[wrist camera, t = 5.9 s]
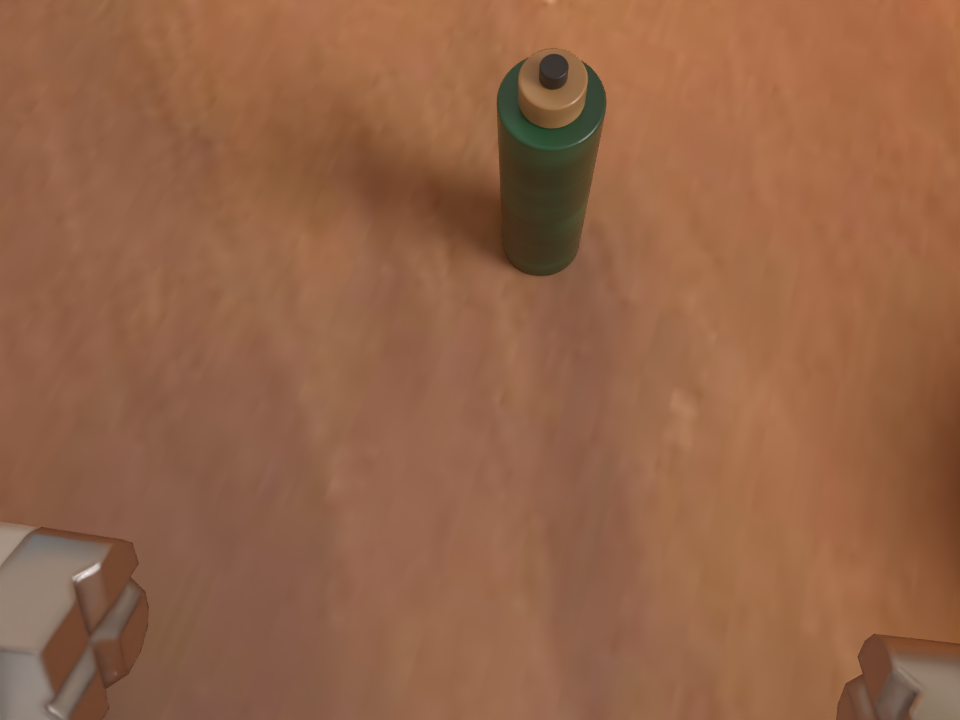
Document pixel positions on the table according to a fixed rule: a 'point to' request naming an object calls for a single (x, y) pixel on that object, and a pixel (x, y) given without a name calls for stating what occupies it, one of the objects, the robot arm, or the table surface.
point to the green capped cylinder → (547, 157)
